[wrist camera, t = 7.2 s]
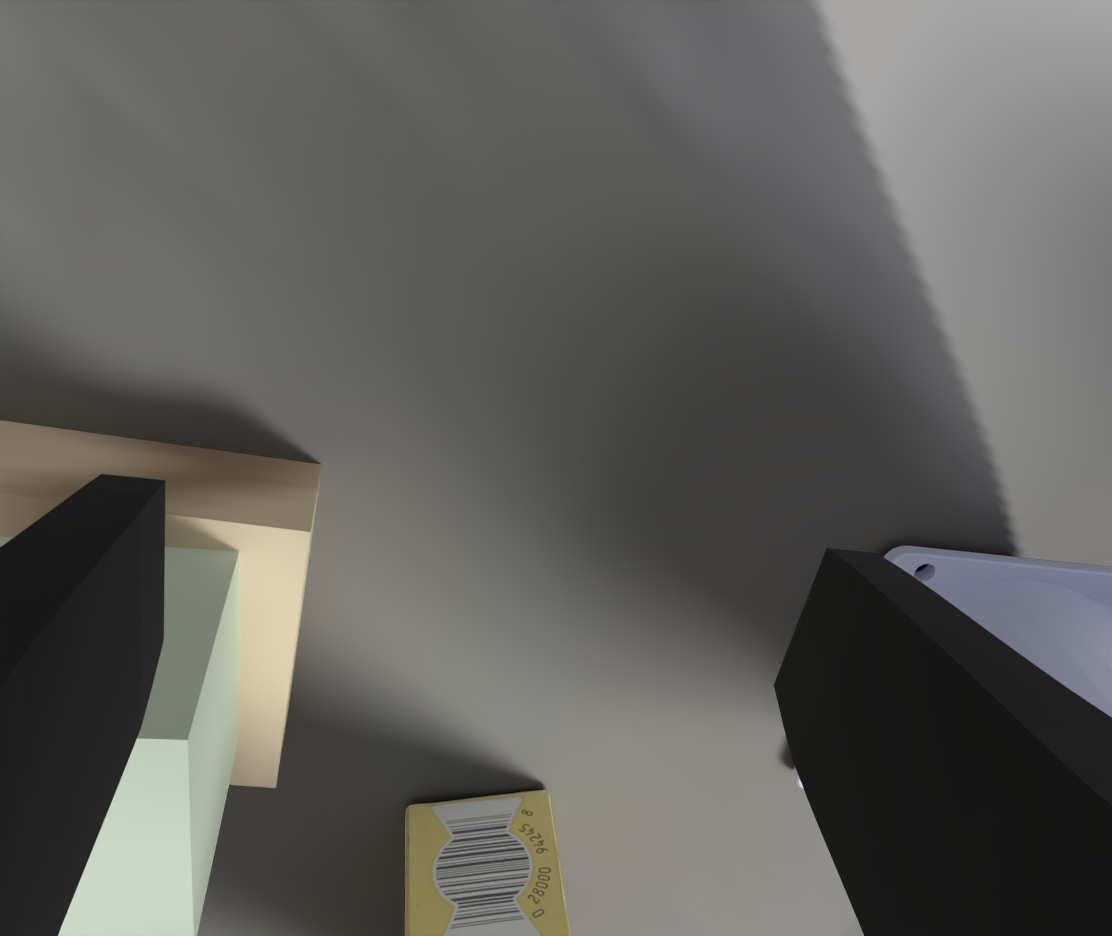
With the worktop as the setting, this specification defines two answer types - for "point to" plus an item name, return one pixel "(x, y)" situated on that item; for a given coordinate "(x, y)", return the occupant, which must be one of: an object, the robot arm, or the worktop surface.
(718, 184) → the worktop surface
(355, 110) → the worktop surface
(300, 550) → the beech block
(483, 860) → the candy box
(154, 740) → the sage cube
